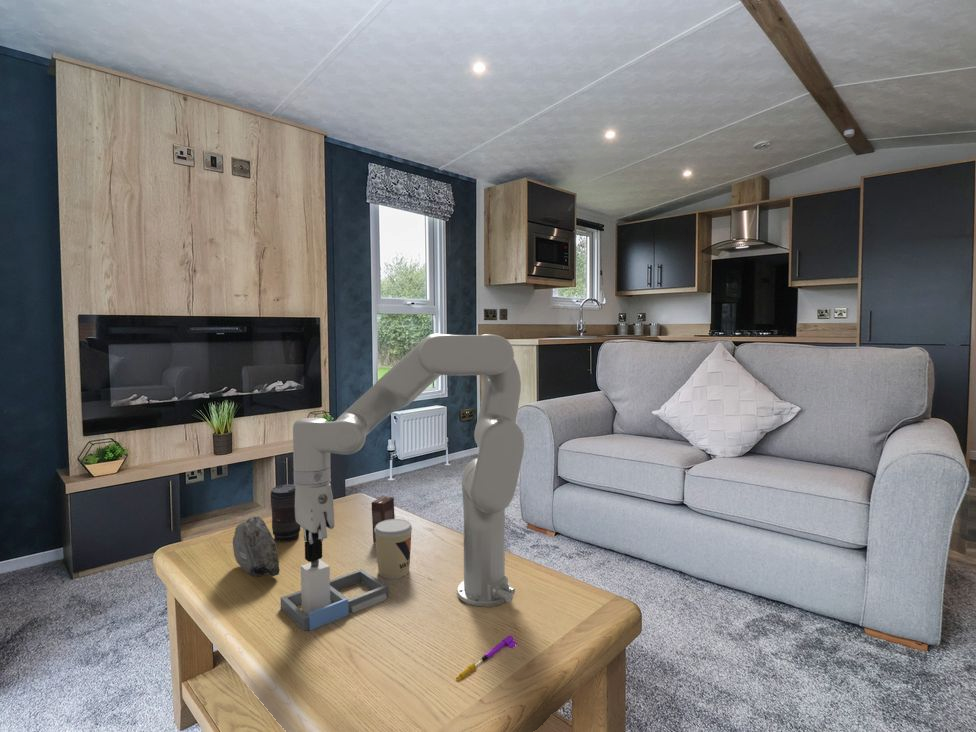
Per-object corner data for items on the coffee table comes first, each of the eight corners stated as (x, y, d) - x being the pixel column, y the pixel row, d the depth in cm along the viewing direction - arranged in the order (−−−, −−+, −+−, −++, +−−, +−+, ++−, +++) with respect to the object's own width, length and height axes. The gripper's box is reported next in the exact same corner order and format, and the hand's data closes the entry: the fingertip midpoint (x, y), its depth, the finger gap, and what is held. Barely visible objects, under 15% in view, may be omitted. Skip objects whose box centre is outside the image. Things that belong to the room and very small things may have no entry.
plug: (330, 610, 114) (329, 560, 114) (310, 618, 111) (309, 567, 110) (321, 602, 118) (320, 554, 117) (301, 610, 115) (300, 560, 114)
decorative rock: (281, 580, 128) (280, 520, 127) (254, 589, 123) (251, 527, 122) (256, 559, 140) (254, 504, 139) (230, 567, 135) (228, 510, 134)
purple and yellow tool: (509, 637, 104) (454, 680, 92) (510, 632, 104) (455, 674, 92) (519, 645, 103) (465, 690, 90) (520, 640, 102) (466, 684, 90)
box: (382, 535, 156) (381, 495, 155) (395, 537, 155) (395, 497, 154) (371, 542, 151) (370, 501, 150) (385, 544, 149) (384, 503, 148)
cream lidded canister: (404, 581, 127) (404, 533, 126) (369, 578, 129) (368, 530, 128) (417, 564, 136) (417, 519, 136) (383, 561, 138) (383, 517, 137)
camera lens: (265, 541, 152) (264, 490, 151) (284, 531, 159) (282, 483, 158) (289, 544, 149) (287, 493, 148) (307, 534, 157) (305, 485, 156)
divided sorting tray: (390, 597, 120) (389, 582, 119) (305, 632, 106) (305, 615, 106) (361, 578, 129) (361, 564, 129) (280, 608, 115) (280, 593, 115)
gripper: (345, 479, 109) (346, 565, 111) (313, 466, 120) (314, 544, 122) (311, 487, 104) (312, 576, 106) (280, 472, 115) (282, 553, 116)
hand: (313, 558), depth 114 cm, fingers closed
